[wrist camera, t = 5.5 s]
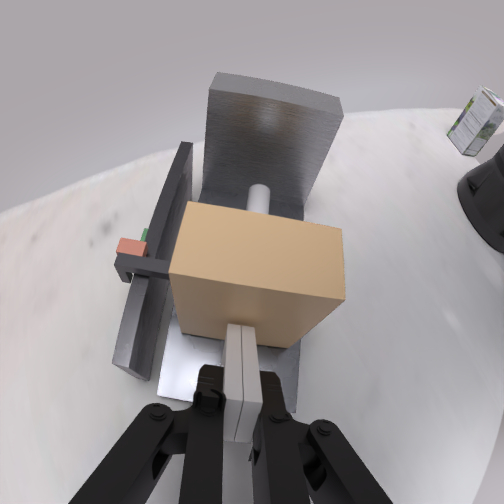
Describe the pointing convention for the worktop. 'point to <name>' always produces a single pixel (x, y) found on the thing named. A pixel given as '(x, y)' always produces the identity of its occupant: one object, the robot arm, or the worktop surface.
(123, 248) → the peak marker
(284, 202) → the stand
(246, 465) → the worktop surface
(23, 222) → the worktop surface
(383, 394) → the worktop surface
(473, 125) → the syrup box
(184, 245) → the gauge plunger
